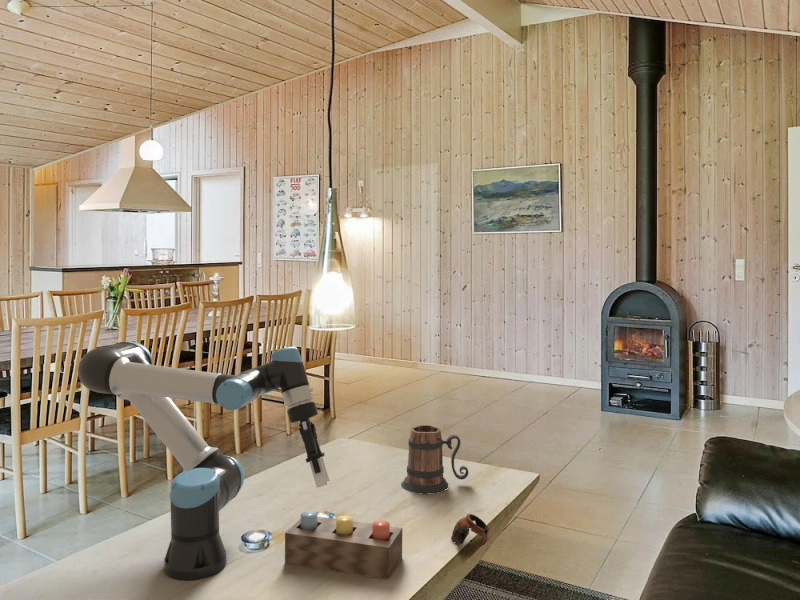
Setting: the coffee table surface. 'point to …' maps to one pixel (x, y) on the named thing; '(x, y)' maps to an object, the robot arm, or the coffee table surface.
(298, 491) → the coffee table surface
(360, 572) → the console
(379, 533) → the red button
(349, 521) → the mustard button
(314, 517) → the slate button
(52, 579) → the coffee table surface
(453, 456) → the tankard
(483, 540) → the pottery mug
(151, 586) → the coffee table surface
